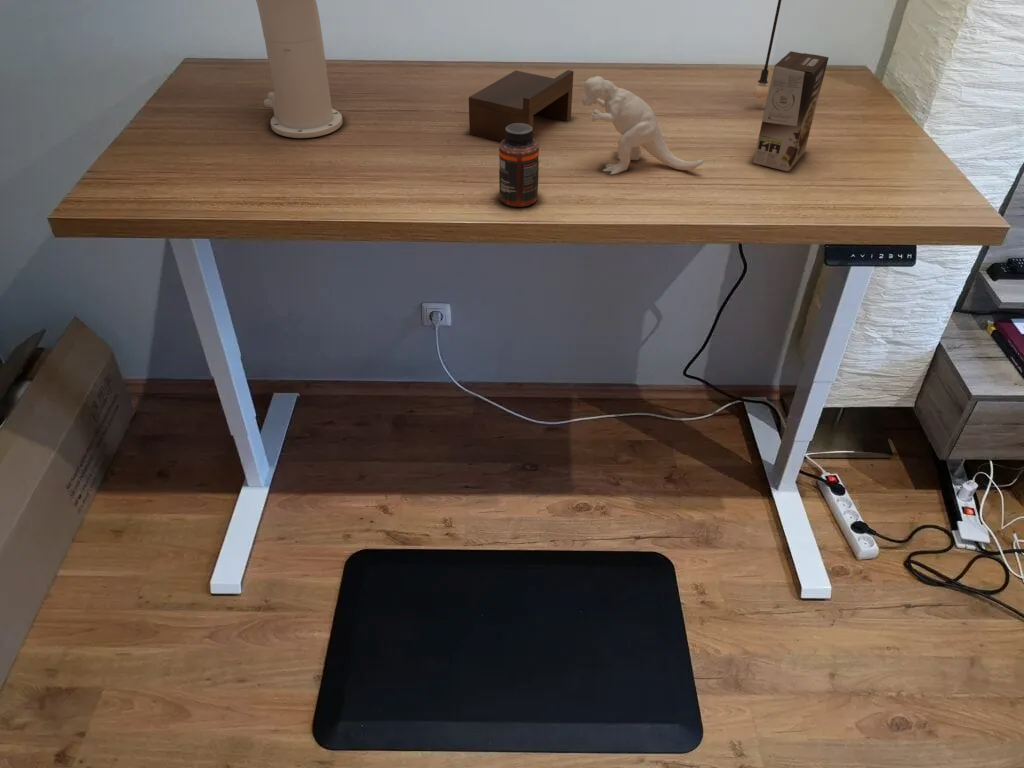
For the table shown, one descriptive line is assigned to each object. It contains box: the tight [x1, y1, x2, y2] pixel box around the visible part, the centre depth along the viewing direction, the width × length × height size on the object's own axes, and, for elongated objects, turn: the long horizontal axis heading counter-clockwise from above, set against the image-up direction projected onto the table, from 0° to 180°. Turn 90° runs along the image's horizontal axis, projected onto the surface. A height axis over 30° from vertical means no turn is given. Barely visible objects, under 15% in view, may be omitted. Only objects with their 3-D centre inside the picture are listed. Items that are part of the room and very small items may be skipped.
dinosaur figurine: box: [581, 75, 704, 175], centre depth 128 cm, size 20×10×15 cm, turn 79°
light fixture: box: [753, 0, 782, 99], centre depth 145 cm, size 7×7×25 cm
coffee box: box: [752, 50, 829, 172], centre depth 130 cm, size 9×6×16 cm
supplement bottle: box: [498, 123, 540, 208], centre depth 120 cm, size 6×6×11 cm
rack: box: [468, 69, 574, 143], centre depth 142 cm, size 12×16×9 cm
